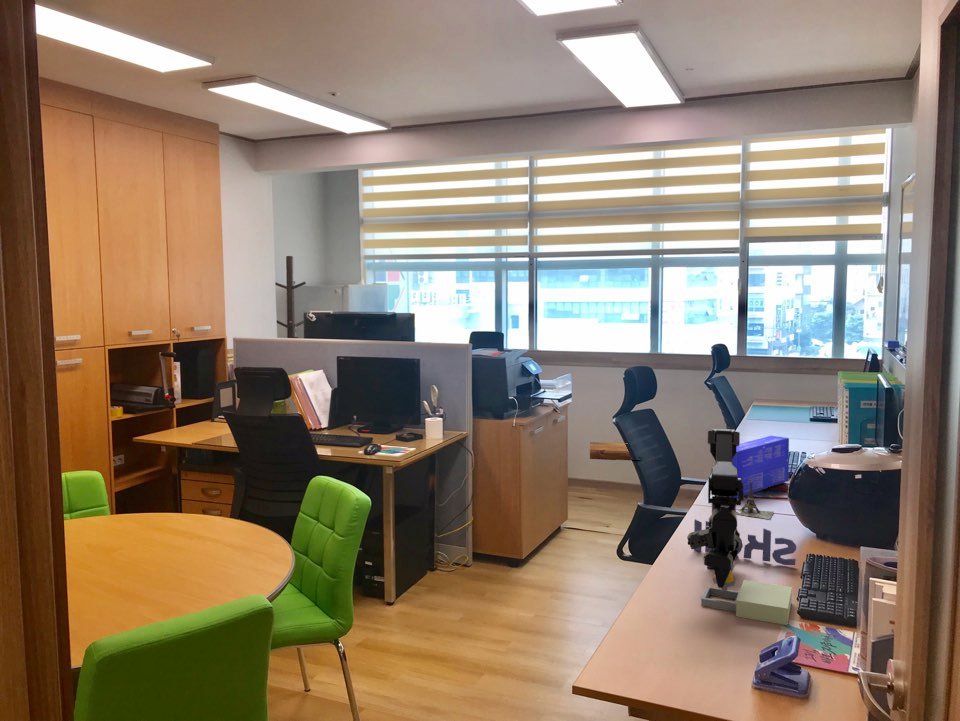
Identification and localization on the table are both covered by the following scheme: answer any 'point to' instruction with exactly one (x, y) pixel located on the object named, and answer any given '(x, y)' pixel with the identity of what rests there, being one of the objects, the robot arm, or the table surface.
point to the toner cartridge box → (762, 463)
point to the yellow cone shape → (728, 583)
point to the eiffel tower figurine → (751, 504)
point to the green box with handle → (754, 601)
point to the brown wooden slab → (609, 451)
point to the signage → (760, 546)
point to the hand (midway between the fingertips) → (722, 583)
